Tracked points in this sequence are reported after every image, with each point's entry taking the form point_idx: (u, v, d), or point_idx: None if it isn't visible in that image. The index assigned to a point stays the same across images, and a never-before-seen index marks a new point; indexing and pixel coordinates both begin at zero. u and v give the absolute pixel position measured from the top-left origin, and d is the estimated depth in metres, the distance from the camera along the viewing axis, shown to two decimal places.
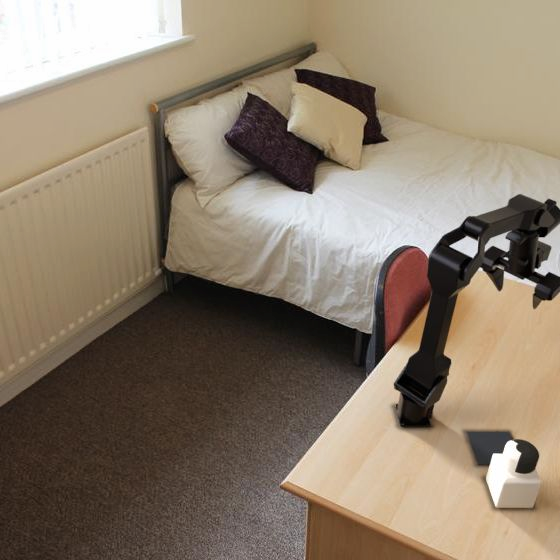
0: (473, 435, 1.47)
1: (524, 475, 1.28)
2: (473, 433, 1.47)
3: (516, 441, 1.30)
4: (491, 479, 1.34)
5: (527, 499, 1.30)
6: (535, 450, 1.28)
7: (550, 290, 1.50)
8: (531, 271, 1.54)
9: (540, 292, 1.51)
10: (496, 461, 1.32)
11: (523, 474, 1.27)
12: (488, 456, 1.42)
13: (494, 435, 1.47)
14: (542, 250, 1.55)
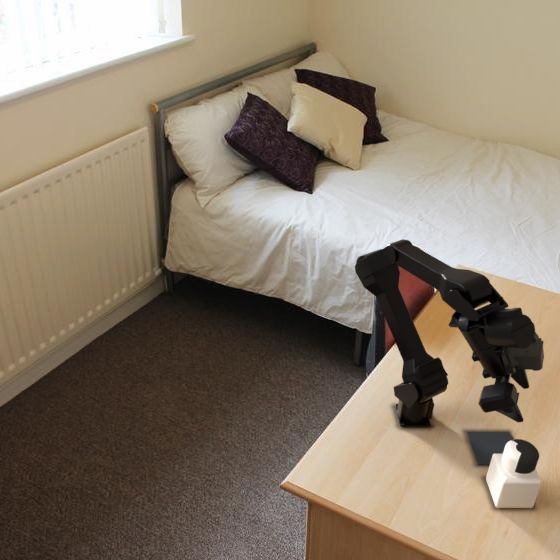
0: (473, 435, 1.47)
1: (524, 475, 1.28)
2: (473, 433, 1.47)
3: (516, 441, 1.30)
4: (491, 479, 1.34)
5: (527, 499, 1.30)
6: (535, 450, 1.28)
7: (480, 399, 1.25)
8: (494, 373, 1.28)
9: None
10: (496, 461, 1.32)
11: (523, 474, 1.27)
12: (488, 456, 1.42)
13: (494, 435, 1.47)
14: (516, 354, 1.25)
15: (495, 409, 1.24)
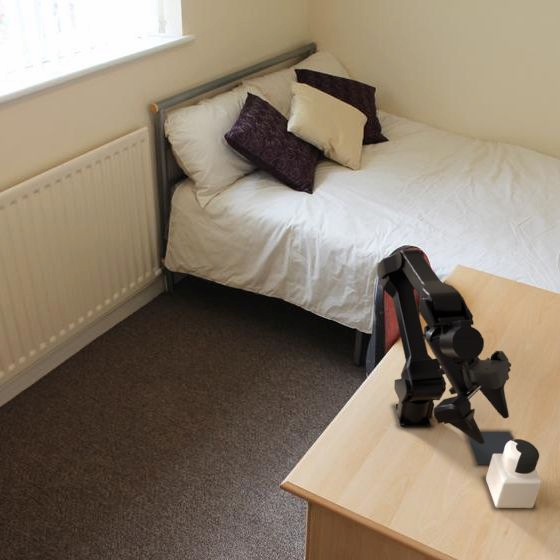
0: None
1: (524, 475, 1.28)
2: None
3: (516, 441, 1.30)
4: (491, 479, 1.34)
5: (527, 499, 1.30)
6: (535, 450, 1.28)
7: (434, 409, 1.27)
8: (457, 388, 1.29)
9: None
10: (496, 461, 1.32)
11: (523, 474, 1.27)
12: (488, 456, 1.42)
13: (494, 435, 1.47)
14: (475, 370, 1.26)
15: (445, 420, 1.25)
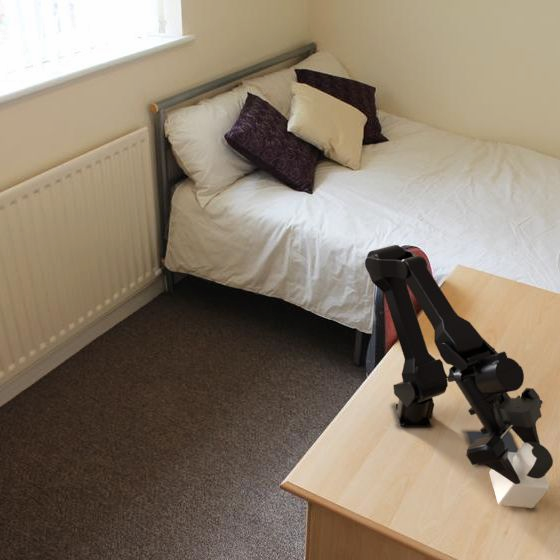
0: (473, 435, 1.47)
1: (535, 479, 1.26)
2: (473, 433, 1.47)
3: (531, 444, 1.28)
4: (497, 476, 1.32)
5: (531, 500, 1.30)
6: (549, 456, 1.26)
7: (467, 450, 1.25)
8: (489, 428, 1.28)
9: None
10: None
11: (534, 479, 1.26)
12: None
13: None
14: (507, 409, 1.25)
15: (480, 461, 1.24)
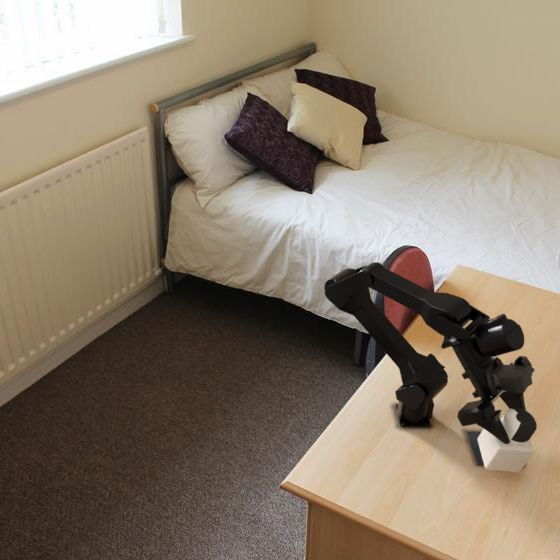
0: (473, 435, 1.47)
1: (519, 443, 1.31)
2: (473, 433, 1.47)
3: (516, 409, 1.32)
4: (484, 442, 1.37)
5: (517, 464, 1.35)
6: (533, 421, 1.31)
7: None
8: (481, 392, 1.32)
9: None
10: None
11: (519, 443, 1.31)
12: None
13: None
14: (499, 375, 1.29)
15: (470, 423, 1.28)
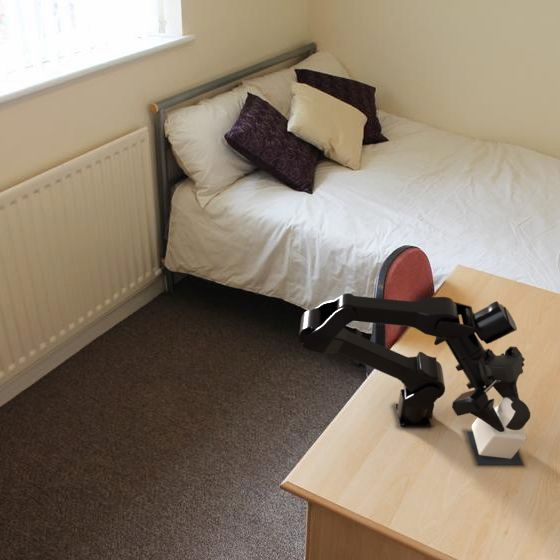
0: (473, 435, 1.47)
1: (513, 431, 1.36)
2: None
3: (511, 398, 1.37)
4: (479, 429, 1.42)
5: (509, 451, 1.40)
6: (527, 410, 1.36)
7: (453, 403, 1.35)
8: (474, 383, 1.37)
9: None
10: None
11: (513, 430, 1.36)
12: (488, 456, 1.42)
13: None
14: (491, 365, 1.34)
15: (464, 412, 1.33)
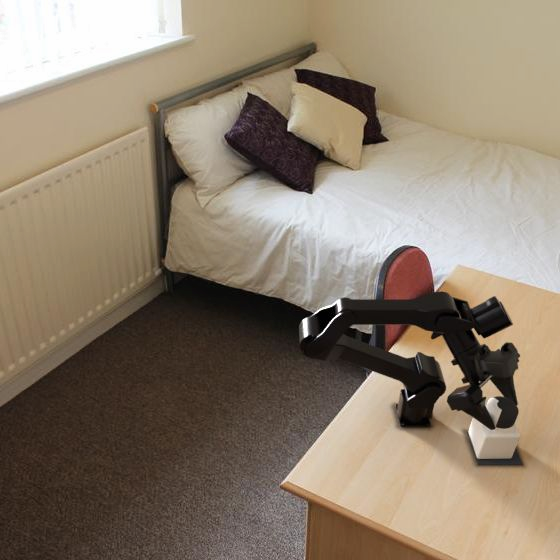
0: None
1: (504, 430, 1.37)
2: None
3: (497, 398, 1.38)
4: (474, 433, 1.43)
5: (507, 451, 1.40)
6: (515, 407, 1.37)
7: (448, 397, 1.35)
8: (469, 378, 1.38)
9: None
10: None
11: (503, 429, 1.37)
12: None
13: None
14: (486, 360, 1.34)
15: (459, 407, 1.34)
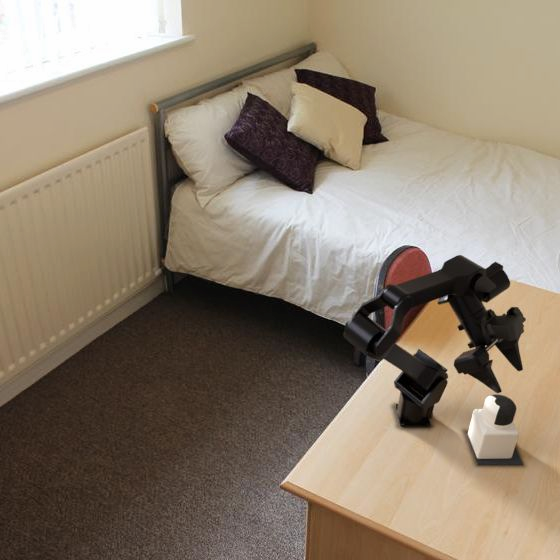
0: None
1: (503, 427, 1.37)
2: None
3: (495, 396, 1.39)
4: (473, 433, 1.43)
5: (506, 450, 1.40)
6: (512, 404, 1.38)
7: (455, 361, 1.37)
8: (476, 342, 1.40)
9: None
10: (477, 416, 1.41)
11: (502, 426, 1.37)
12: None
13: None
14: (493, 324, 1.36)
15: (466, 370, 1.36)
